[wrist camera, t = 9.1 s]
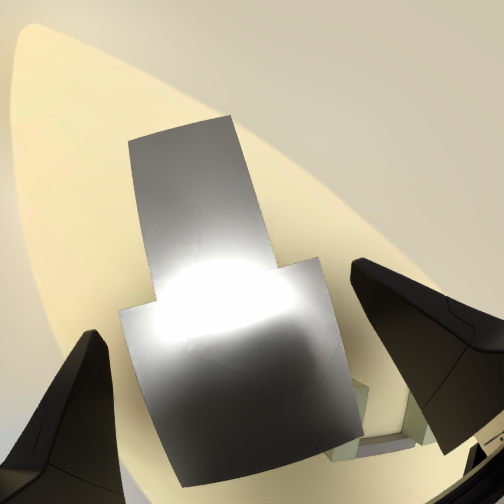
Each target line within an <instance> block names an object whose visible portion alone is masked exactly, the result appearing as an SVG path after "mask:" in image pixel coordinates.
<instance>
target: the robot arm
mask: <svg viewBox="0 0 504 504" xmlns="http://www.w3.org/2000/svg"><path fill="white" fill-rule="evenodd" d="M350 282H351V285H352V287H353V289H354V291H355V293H356V295H357V297H358V299H359V301H360V303H361V305H362V308H363V310H364V312H365V314H366V316H367V318H368V320H369V321H370V323H371V325H372V326H373V328H374V330H375V331H376V333H377V335H378V336H379V338H380V340H381V341H382V343H383V345H384V346H385V348H386V350H387V351H388V353H389V355H390V356H391V358H392V360H393V362H394V363H395V365H396V367H397V368H398V370H399V372H400V374H401V375H402V377H403V379H404V381H405V383H406V384H407V386H408V388H409V390H410V391H411V393H412V395H413V397H414V399H415V401H416V402H417V404H418V406H419V408H420V410H421V412H422V414H423V416H424V418H425V420H426V421H427V423H428V425H429V427H430V429H431V431H432V433H433V435H434V437H435V439H436V441H437V443H438V445H439V447H440V449H441V451H442V453H443V454H444V456H445V455H446V454H448V453H449V452H451V451H452V450H454V449H455V448H457V447H458V446H459V445H461V444H462V443H464V442H465V441H466V440H468V439H469V438H470V437H472V436H473V435H474V436H475V437H476V439H477V441H478V442H477V443H476V444H475V445H474V446H472V447H471V448H470V451H469V455H468V459H467V463H466V467H465V471H464V474H463V478H461V479H460V480H459V481H457V482H456V483H455V484H453V485H452V486H451V487H449V488H448V489H446V490H445V491H443V492H442V493H441V494H439V495H438V496H436V497H435V498H433V499H432V500H430V501H428V502H427V503H425V504H504V320H502V319H499V318H497V317H494V316H492V315H489V314H487V313H484V312H482V311H479V310H477V309H474V308H472V307H470V306H467V305H465V304H463V303H461V302H458V301H456V300H454V299H452V298H450V297H448V296H445V295H444V294H441V293H439V292H437V291H435V290H433V289H431V288H429V287H427V286H425V285H423V284H420V283H418V282H416V281H414V280H412V279H410V278H408V277H405V276H403V275H401V274H399V273H397V272H394V271H392V270H390V269H388V268H386V267H383V266H381V265H379V264H377V263H375V262H372V261H370V260H368V259H366V258H359V259H356V260H353V261H352V264H351V274H350ZM123 495H124V493H123V486H122V480H121V473H120V466H119V458H118V449H117V440H116V429H115V415H114V396H113V383H112V376H111V368H110V359H109V350H108V346H107V344H106V342H105V341H104V340H103V338H102V337H101V336H100V334H99V333H98V331H97V330H95V329H93V330H88V331H85V332H84V333H83V335H82V336H81V338H80V339H79V341H78V342H77V344H76V345H75V347H74V348H73V350H72V351H71V353H70V354H69V356H68V357H67V359H66V360H65V362H64V364H63V365H62V367H61V368H60V370H59V372H58V373H57V375H56V376H55V378H54V380H53V381H52V383H51V385H50V386H49V388H48V390H47V391H46V393H45V395H44V396H43V398H42V400H41V402H40V403H39V405H38V407H37V408H36V410H35V412H34V414H33V415H32V417H31V419H30V421H29V422H28V424H27V426H26V427H25V429H24V431H23V432H22V434H21V435H20V437H19V439H18V440H17V442H16V443H15V445H14V447H13V448H12V450H11V451H10V453H9V454H8V456H7V458H6V459H5V461H4V462H3V463H2V464H1V465H0V504H126V503H125V497H124V496H123Z"/></svg>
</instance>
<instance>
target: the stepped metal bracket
mask: <svg viewBox="0 0 504 504" xmlns="http://www.w3.org/2000/svg"><path fill="white" fill-rule="evenodd" d="M128 146H129V154H130V162H131V170H132V177H133V184H134V191H135V197H136V203H137V209H138V215H139V220H140V226H141V231H142V236H143V241H144V246H145V251H146V256H147V261H148V265H149V270H150V274H151V278H152V283H153V287H154V291H155V295H156V299H157V301H155V302H151V303H147V304H143V305H139V306H135V307H131V308H127V309H123V310H119V311H118V313H119V317H120V321H121V325H122V329H123V333H124V336H125V340H126V344H127V347H128V351H129V354H130V357H131V361H132V364H133V367H134V370H135V373H136V377H137V380H138V383H139V386H140V388H141V391H142V394H143V397H144V400H145V403H146V405H147V408H148V411H149V413H150V416H151V419H152V421H153V424H154V426H155V429H156V431H157V434H158V436H159V438H160V441H161V443H162V445H163V448H164V450H165V452H166V455H167V457H168V459H169V461H170V463H171V465H172V468H173V470H174V472H175V474H176V476H177V478H178V480H179V482H180V484H181V486H182V488H184V487H192V486H198V485H205V484H211V483H216V482H221V481H226V480H231V479H236V478H240V477H245V476H249V475H253V474H257V473H261V472H265V471H268V470H272V469H275V468H279V467H282V466H285V465H288V464H292V463H295V462H298V461H301V460H304V459H307V458H309V457H312V456H315V455H318V454H320V453H323V452H326V451H328V450H331V449H333V448H336V447H338V446H341V445H343V444H345V443H348V442H350V441H352V440H355V439H357V438H359V437H361V436H363V435H364V432H363V428H362V423H361V418H360V413H359V409H358V404H357V400H356V395H355V391H354V387H353V382H352V378H351V374H350V370H349V366H348V362H347V358H346V354H345V350H344V346H343V342H342V338H341V335H340V331H339V327H338V323H337V320H336V316H335V312H334V309H333V305H332V302H331V298H330V295H329V291H328V288H327V285H326V281H325V278H324V275H323V271H322V268H321V265H320V261H319V258H318V257H316V258H312V259H309V260H305V261H302V262H299V263H295V264H292V265H288V266H284V267H281V268H278V266H277V262H276V259H275V256H274V252H273V249H272V246H271V242H270V239H269V236H268V233H267V229H266V226H265V223H264V219H263V216H262V213H261V210H260V206H259V203H258V200H257V197H256V194H255V190H254V187H253V184H252V181H251V178H250V174H249V171H248V168H247V165H246V162H245V159H244V155H243V152H242V149H241V146H240V143H239V140H238V137H237V134H236V131H235V127H234V124H233V121H232V118H231V115H229V116H224V117H219V118H214V119H209V120H205V121H200V122H196V123H192V124H188V125H184V126H180V127H176V128H172V129H168V130H164V131H161V132H157V133H154V134H150V135H147V136H143V137H140V138H137V139H134V140H130V141H128Z"/></svg>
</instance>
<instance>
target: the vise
mask: <svg viewBox="0 0 504 504" xmlns="http://www.w3.org/2000/svg"><path fill="white" fill-rule="evenodd" d="M352 382H353V387H354V391H355V395H356V400H357V404H358V409H359V413H360V418H361V423H362V425H363V420H364V414H365V409H366V403H367V397H368V391H369V387H368V386H366V385H364V384H362V383H360V382H358V381H356V380H354V379H352ZM416 442H417V443H418V444H420V445H422V446H423V445H427V444H431V443H434V442H437V441H436V439H435V437H434V435H433V433H432V431H431V429H430V427H429V425H428V423H427V421H426V420H425V418H424V416H423V414H422V412H421V410H420V408H419V406H418V404H417V402H416V401H415V399H414V397H413V395H412V393H411V391H410V394H409V399H408V405H407V410H406V415H405V419H404V424H403V428H402V433H398V434H393V435H387V436H381V437H374V438H367V439H360V437H359V438H357V439H355V440H352V441H350V442H348V443H345V444H343V445H341V446H338V447H336V448H333V449H331V450H328V451H326V452H324V453H325V454H326V455H327V457H328V458H329V459H330V461H331V462H335V461H344V460H352V459H355V458H361V457H368V456H374V455H380V454H385V453H390V452H395V451H400V450H404V449H409V448H413V447H415V444H416Z"/></svg>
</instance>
